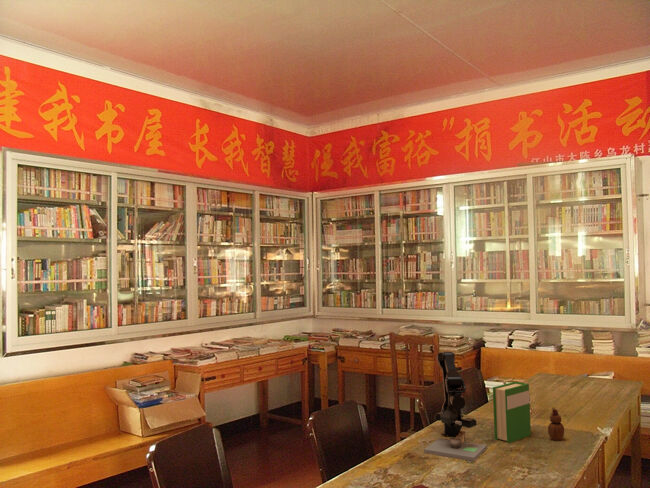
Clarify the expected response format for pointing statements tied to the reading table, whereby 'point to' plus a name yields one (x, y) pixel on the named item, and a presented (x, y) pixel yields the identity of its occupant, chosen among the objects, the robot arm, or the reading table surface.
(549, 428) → the wooden figurine
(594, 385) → the reading table surface
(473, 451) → the dial plate
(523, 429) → the hardback book
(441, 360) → the robot arm
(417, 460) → the reading table surface
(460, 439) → the lever
